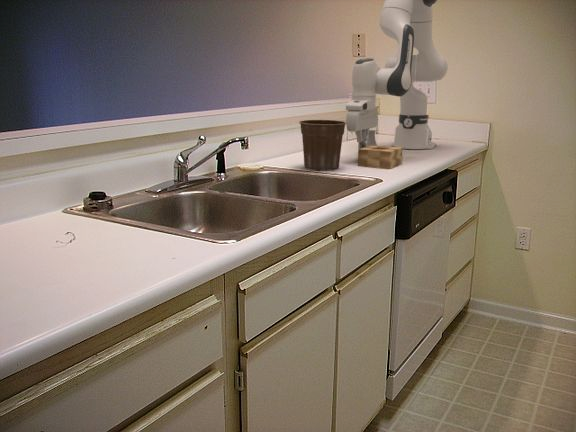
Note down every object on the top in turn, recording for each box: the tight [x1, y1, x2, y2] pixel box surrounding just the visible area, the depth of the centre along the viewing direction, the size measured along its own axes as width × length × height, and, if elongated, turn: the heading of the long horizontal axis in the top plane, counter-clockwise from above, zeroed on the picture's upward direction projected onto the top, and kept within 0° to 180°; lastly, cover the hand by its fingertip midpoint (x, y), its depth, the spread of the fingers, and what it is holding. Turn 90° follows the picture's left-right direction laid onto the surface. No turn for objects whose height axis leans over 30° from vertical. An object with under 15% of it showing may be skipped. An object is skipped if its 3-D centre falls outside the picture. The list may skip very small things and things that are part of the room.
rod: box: [357, 129, 367, 150], centre depth 214 cm, size 3×3×14 cm
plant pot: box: [298, 119, 346, 171], centre depth 198 cm, size 16×16×16 cm
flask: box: [366, 129, 378, 147], centre depth 226 cm, size 7×7×10 cm
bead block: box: [357, 145, 404, 170], centre depth 205 cm, size 12×12×6 cm
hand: (362, 141), depth 214 cm, fingers closed on rod, 3 cm apart
